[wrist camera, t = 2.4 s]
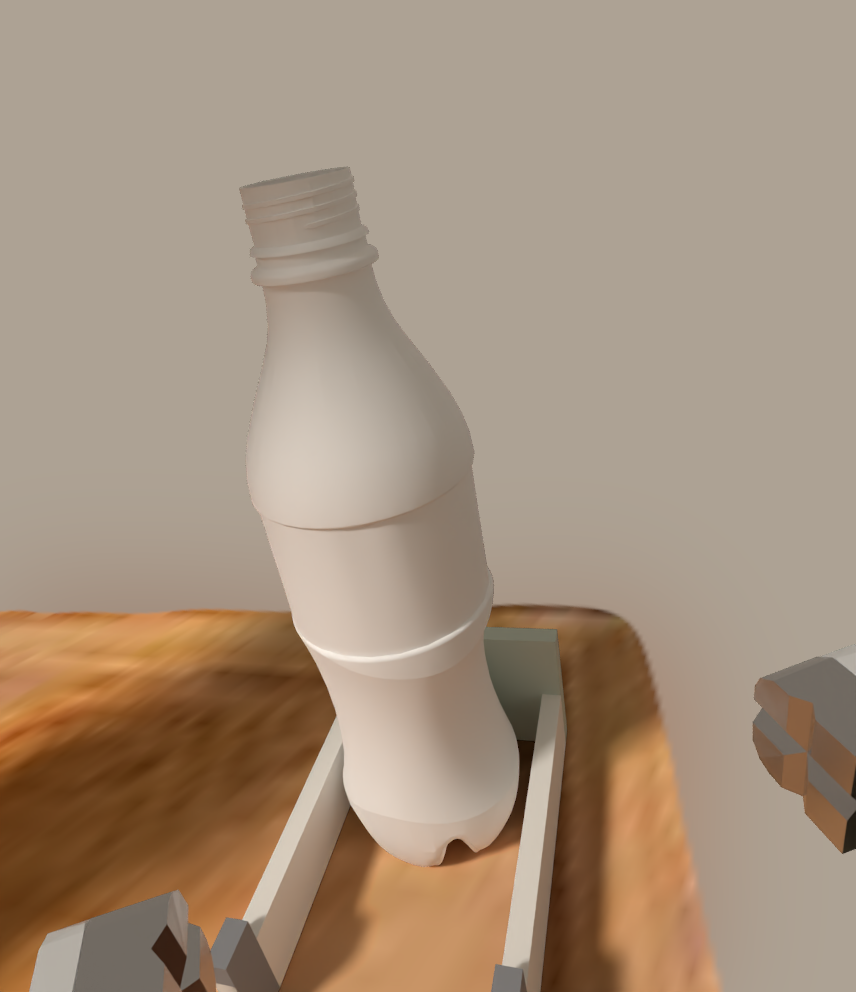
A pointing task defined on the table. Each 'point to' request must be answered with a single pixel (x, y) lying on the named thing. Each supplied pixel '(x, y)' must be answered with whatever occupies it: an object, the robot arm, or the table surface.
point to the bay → (324, 806)
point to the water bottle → (375, 528)
